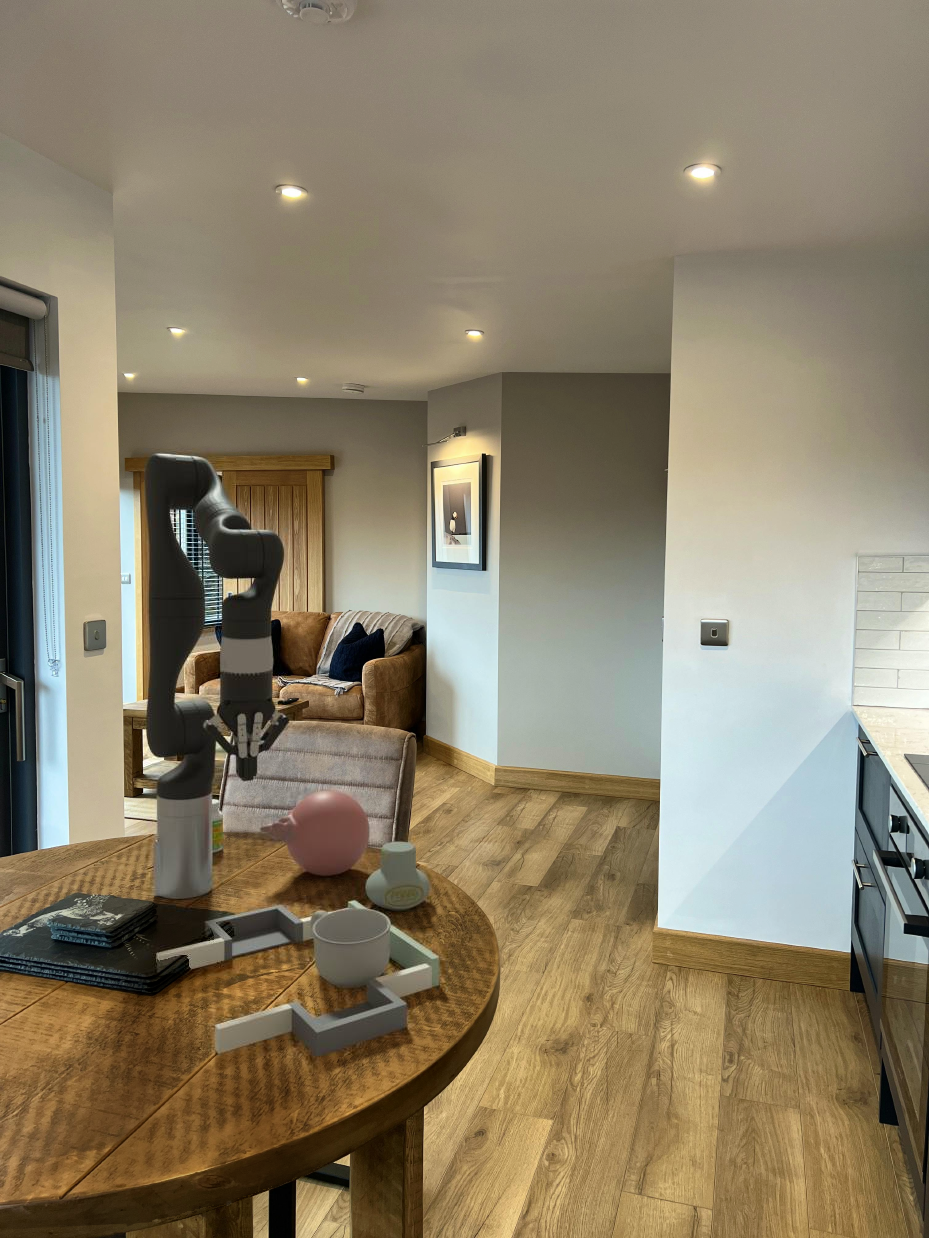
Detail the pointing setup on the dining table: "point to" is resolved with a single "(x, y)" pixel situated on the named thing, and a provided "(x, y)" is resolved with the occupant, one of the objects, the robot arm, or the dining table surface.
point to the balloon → (324, 832)
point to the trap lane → (316, 1033)
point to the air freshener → (398, 879)
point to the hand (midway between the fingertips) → (246, 779)
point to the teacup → (351, 945)
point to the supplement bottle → (217, 827)
